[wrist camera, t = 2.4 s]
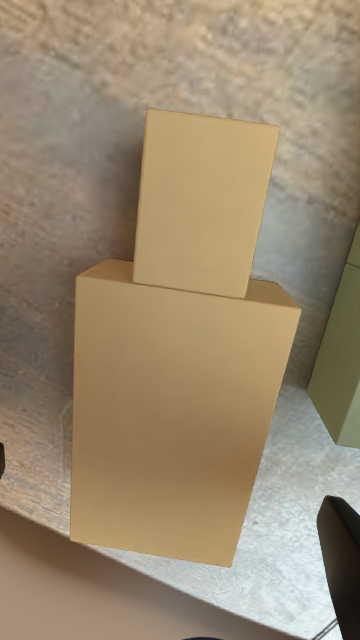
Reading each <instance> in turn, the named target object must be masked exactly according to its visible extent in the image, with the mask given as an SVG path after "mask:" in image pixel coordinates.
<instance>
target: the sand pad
mask: <svg viewBox="0 0 360 640" xmlns="http://www.w3.org/2000/svg"><path fill="white" fill-rule="evenodd" d="M279 134H280V127H279V126H277V125H271V124H264V123H256V122H249V121H241V120H234V119H227V118H219V117H212V116H204V115H197V114H189V113H182V112H174V111H167V110H159V109H152V108H150V109H148V110H147V112H146V118H145V130H144V142H143V154H142V166H141V178H140V190H139V202H138V214H137V226H136V238H135V250H134V262H130V261H123V260H116V259H109V258H108V259H106V260H104V261H102V262H101V263H99V264H97V265H95V266H93V267H91V268H90V269H88V270H86V271H84V272H82V273H80V274H79V275H77V276H76V286H75V330H74V375H73V420H72V465H71V510H70V541H74V542H80V543H86V544H92V545H98V546H104V547H110V548H116V549H122V550H128V551H133V552H139V553H145V554H151V555H157V556H163V557H169V558H175V559H181V560H187V561H193V562H199V563H204V564H210V565H216V566H222V567H228V568H230V567H231V565H232V562H233V558H234V555H235V551H236V547H237V544H238V540H239V536H240V533H241V529H242V525H243V522H244V518H245V515H246V511H247V507H248V504H249V500H250V496H251V493H252V489H253V486H254V482H255V478H256V475H257V471H258V467H259V464H260V460H261V456H262V453H263V449H264V446H265V442H266V438H267V435H268V431H269V427H270V424H271V420H272V416H273V413H274V409H275V406H276V402H277V398H278V395H279V391H280V387H281V384H282V380H283V376H284V373H285V369H286V366H287V362H288V358H289V355H290V351H291V347H292V344H293V340H294V337H295V333H296V329H297V326H298V322H299V318H300V315H301V308H300V307H299V306H298V305H297V304H296V303H295V302H294V300H293V299H292V298H291V297H290V296H289V295H288V294H287V293H286V292H285V291H284V290H283V289H282V287H281V286H280V285H279V284H278V283H274V282H267V281H260V280H253V279H249V277H250V272H251V267H252V263H253V258H254V253H255V248H256V243H257V239H258V234H259V229H260V224H261V220H262V215H263V210H264V205H265V200H266V196H267V191H268V186H269V181H270V177H271V172H272V167H273V162H274V157H275V153H276V148H277V143H278V138H279Z"/></svg>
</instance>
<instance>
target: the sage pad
mask: <svg viewBox="0 0 360 640" xmlns="http://www.w3.org/2000/svg"><path fill="white" fill-rule="evenodd" d="M307 393H308V395H309V397H310V399H311V400H312V402H313V404H314V406H315V408H316V410H317V411H318V413H319V415H320V417H321V419H322V421H323V422H324V424H325V426H326V428H327V430H328V432H329V434H330V435H331V437H332V439H333V441H334V443H335V444H336V445H340V446H346V447H352V448H359V449H360V220H359V223H358V226H357V229H356V233H355V236H354V239H353V242H352V246H351V249H350V252H349V255H348V259H347V263H346V264H345V268H344V271H343V274H342V277H341V281H340V284H339V287H338V290H337V294H336V297H335V300H334V303H333V307H332V310H331V313H330V316H329V320H328V323H327V326H326V329H325V333H324V336H323V339H322V342H321V346H320V349H319V352H318V355H317V359H316V362H315V365H314V368H313V372H312V375H311V378H310V381H309V385H308V388H307Z"/></svg>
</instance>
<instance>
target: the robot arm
mask: <svg viewBox="0 0 360 640" xmlns="http://www.w3.org/2000/svg"><path fill="white" fill-rule="evenodd" d="M4 470H5V452H4V445H3V443H1V442H0V479H1V477H2V475H3V473H4ZM317 530H318V535H319V540H320V545H321V551H322V556H323V561H324V567H325V572H326V577H327V582H328V587H329V591H330V595H331V599H332V603H333V606H334V610H335V613H336V617H337V620H338V624H339V627H340V631H341V635H342V638H343V640H360V515H359V514H358V513H357V512H356V511H355V510H354V509H353V508H352V507H351V506H350V505H349V504H348V503H347V502H346V501H345V500H344V499H342V498H340V497H336V496H330V495H327V496H325V497H324V499H323V502H322V505H321V507H320V510H319V513H318V515H317Z"/></svg>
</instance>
